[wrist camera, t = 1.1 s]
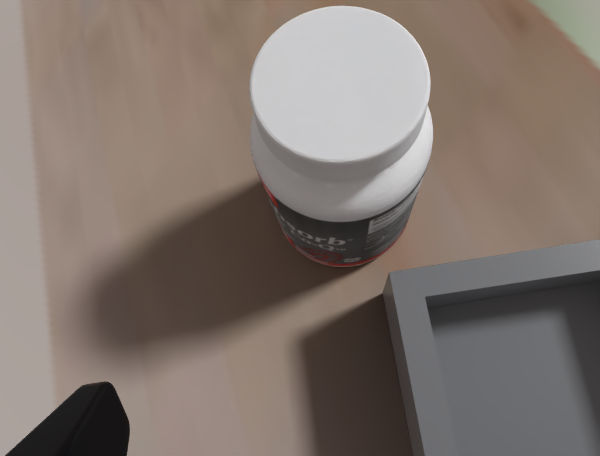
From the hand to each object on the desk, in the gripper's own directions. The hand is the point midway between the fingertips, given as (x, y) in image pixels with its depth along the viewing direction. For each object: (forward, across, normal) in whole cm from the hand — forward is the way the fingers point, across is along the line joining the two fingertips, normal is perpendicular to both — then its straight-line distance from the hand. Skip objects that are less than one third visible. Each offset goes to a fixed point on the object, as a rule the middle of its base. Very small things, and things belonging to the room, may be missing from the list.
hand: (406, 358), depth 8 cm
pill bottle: (+15, 0, +4) cm, 15 cm away
